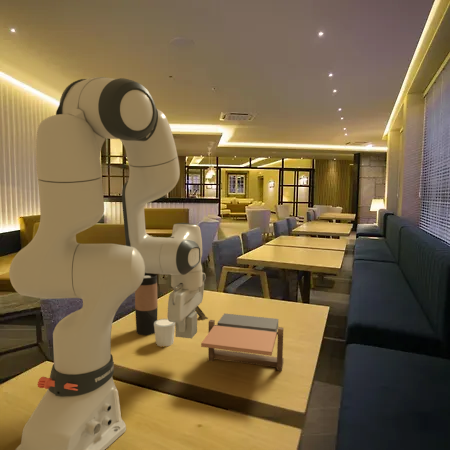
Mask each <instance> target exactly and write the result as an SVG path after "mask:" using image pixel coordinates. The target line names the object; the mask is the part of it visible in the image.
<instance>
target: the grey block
mask: <svg viewBox="0 0 450 450" xmlns="http://www.w3.org/2000/svg"><path fill="white" fill-rule="evenodd" d="M185 324H187V327H186V328H187V329H186V331H185V332H180V331H179V325H178V323H177V322H175V337H176V338H183V339H184V338H186V339H193V337H195V335H196V334H197V333H198V314H197V312H196V311H195V312H191V313H190V314H189V315H188V316H187V317H186V320H185Z"/></svg>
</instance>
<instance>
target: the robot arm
mask: <svg viewBox="0 0 450 450" xmlns="http://www.w3.org/2000/svg"><path fill="white" fill-rule="evenodd" d="M55 112H56V113H55V114H54V115H50V116H48V117H46V118H44V119H43V120H42V121H41V122H40V123H39V124H38V126H37V129H36V141H35V142H36V143H35V163H36V164H35V165H36V168H35V169H36V176H37V184H38V185H37V186H38V193H39V207H40V218H39V225H38V228H37V231H36V233H35V235H34V237H33V238H32V239H31V241H30V242H29V243H28V244H26V246H24V247H22V248H21V249H20V250H19V251H18V252H17V253H16V255H14V257H13V258H12V260H11V263H10V265H9V271H8V272H9V273H8V274H9V275H8V276H9V280H10V283H11V286H12V287H13V289H14V290H15V292H16V293H18V295H20V296H24V297H30V298H35V299H36V298H37V299H42V300H43V299H44V300H47V299H48V300H50V299H51V300H52V299H80V300H82V307H81V308H80V309H77V310H76V311H73V312H71V313H70V314H68V315H67V316H65V317H63V318H61V320H59V322H58V323H57V324H56V325H55V327H54V328H53V329H54V330H53V332H52V345H53V347H52V349H53V364H52V367H51V370H50V375H49V377H46V376H40V377H39V379H38V381H37V387H38V388H39V389H45V390H46V392H45V393H44V395H43V396H42V398H41V400H40V401H39V403H38V404H37V406H36V408H35V409H34V410H33V412H32V414H31V416H29V418H28V420H27V421H26V423H25V424H24V427H23V429H22V434H21V440H20V441H21V442H20V444H19V445H18V446H17V447H16V448H15V450H106V449H107V448H109V447H110V446H111V445H112V444H114V442H115V441H116V440H118V438H120V437H121V436H122V435H123V434H124V433H125V432H126V430H127V424H126V423H125V421H124V419H122V416H121V415H122V414H121V405H120V404H121V403H120V397H119V390H118V388H117V386H116V384H115V382H114V378H113V375H114V367H115V364H114V363H115V362H114V357H113V355H112V353H111V350H112V349H111V347H112V346H111V344H112V329H113V328H112V327H113V322H114V318H115V316H116V313H117V311H118V310H119V308H120V307H121V305H122V304H123V303H124V302H125V300H127V299H128V297H130V296H131V295H133V294H135V291H136V290H137V289H138V288H139V286H140V285H141V283H142V281H143V279H144V275H145V274H150V273H151V274H156V275H170V286H171V287H172V288H173V290H172V291H171V292H170V294H169V296H168V301H167V317H166V318H167V319H168V320H169V322H175V323H176V322H177V323H178V325H179V331H180V332H185V331H186V329H187V328H186V327H187V324H185V320H186V317H187V316H188V315H189V314H190V313H191V312H196V311H195V308H196V307H197V306H198V307H199V305H201V304H202V303H203V298H204V291H205V289H204V288H205V281H206V273H205V272H203V266H202V257H203V239H202V230H201V228H200V226H199V225H197V224H196V223H190V222H189V223H188V222H177V223H174V224H173V227H172V233H171V236H169V237H163V236H161V237H160V236H158V237H157V236H153V235H149V234H148V233H147V231H146V217H145V216H146V215H145V207H146V205H147V204H149V203H152V202H154V201H156V200H158V199H160V198H161V199H162V197H164V196H166V195H167V194H169V193H170V192H171V191H173V189H175V187H176V185H177V184H178V182H179V180H180V176H181V175H180V173H181V170H180V169H181V168H180V162H179V156H178V152H177V146H176V143H175V142H176V141H175V139H174V136H173V135H174V134H173V132H172V129H171V126H170V123H169V120H168V117H167V115H165V113H164V112H163V111H162V110H160V109H158V108H157V107H156V103H155V100H154V99H153V96H152V95H151V93H150V92H149V90H148V89H147V88H146V87H145V86H144V85H143V84H141V83H139V82H138V81H134V80H132V79H129V78H124V77H123V78H122V77H121V78H112V77H111V78H110V77H106V76H105V77H104V76H99V77H98V76H97V77H91V78H81V79H78V80H75V81H73V82H71V83H70V84H68V85H67V86H66V87H65V89H64V90H63V92H62V94H61V96H60V101H59V105H58V107H57V109H56V111H55ZM106 139H108V140H109V139H110V140H120V141H121V144H122V145H123V147H124V150H125V155H126V160H127V163H128V164H127V165H128V167H129V168H128V169H129V176H128V180H126V182H124V184H123V187H122V190H121V203H122V204H121V207H122V217H123V228H124V238H125V239H124V240H125V245H123V244H117V243H80V242H78V241H77V234H80V233H81V232H84V231H86V230H87V229H90V228H91V227H93V226H95V225H96V224H97V223H99V221H100V220H101V219H102V218H103V216H104V212H105V201H104V188H103V187H104V185H103V175H102V165H101V164H102V163H101V151H102V149H103V148H102V147H103V145H104V143H105V141H106Z"/></svg>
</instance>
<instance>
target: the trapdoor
mask: <svg viewBox="0 0 450 450" xmlns="http://www.w3.org/2000/svg"><path fill="white" fill-rule="evenodd" d="M215 325H220V326H215ZM215 325H214V326H213V328H212V329H211V331H210V332H209V331H208V332H207V335H206V336H205V338H204V339H203V340H202V341H201V342H200V343H201V344H200V347H201V348H207V349H208V348H214V349H217V350H225V351H233V352H241V353H248V354H256V355H264V356H272V355H273V351H274V347H275V344H276V341H277V340H276V339H277V337H278V335H277V332H278V327H279V318H275V317H274V318H273V317H264V316H262V317H261V316H254V315H243V314H234V313H233V314H232V313H223V315H222V316H221V317H220V319H219V320H218V321H217V323H216V324H215ZM224 326H229V327H224ZM233 327H238V328H233ZM242 328H247V329H242ZM251 329H256V330H251ZM260 330H265V331H260ZM269 331H274V332H269ZM272 357H273V356H272Z"/></svg>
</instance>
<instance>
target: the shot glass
mask: <svg viewBox="0 0 450 450" xmlns="http://www.w3.org/2000/svg"><path fill="white" fill-rule="evenodd" d="M154 329H155V333H154V335H155V336H154V337H155V345H156V344H157V345H156V346H158V347H161V348H162V346H163V348H164V346H166V347H169V346H172V345H174V340H175V332H176V322H169V320H168V318H161V319H157V321H155V322H154Z"/></svg>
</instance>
